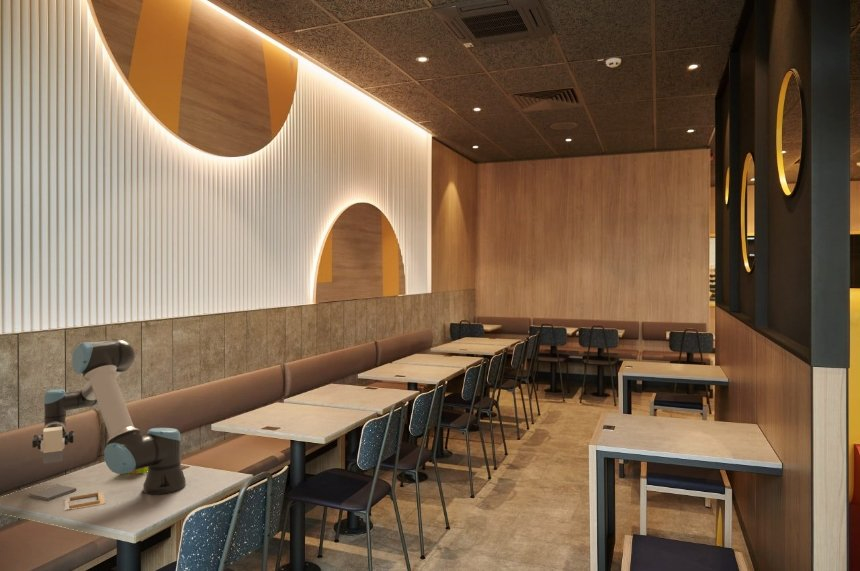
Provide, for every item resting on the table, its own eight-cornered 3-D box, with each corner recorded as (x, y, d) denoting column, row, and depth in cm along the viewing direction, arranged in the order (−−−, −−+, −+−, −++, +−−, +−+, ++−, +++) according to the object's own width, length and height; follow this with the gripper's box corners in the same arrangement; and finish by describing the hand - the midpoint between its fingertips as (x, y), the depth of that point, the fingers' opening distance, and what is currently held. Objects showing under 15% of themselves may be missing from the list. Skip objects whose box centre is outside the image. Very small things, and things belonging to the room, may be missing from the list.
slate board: (76, 490, 227) (76, 488, 227) (48, 500, 217) (48, 497, 217) (57, 486, 231) (57, 484, 231) (29, 496, 221) (28, 493, 221)
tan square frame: (103, 492, 224) (103, 490, 224) (104, 503, 213) (104, 500, 213) (64, 499, 218) (63, 496, 218) (63, 511, 207) (63, 508, 207)
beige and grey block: (62, 456, 228) (62, 426, 228) (62, 461, 223) (62, 429, 223) (44, 459, 225) (43, 428, 225) (43, 463, 220) (43, 431, 219)
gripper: (81, 438, 244) (82, 452, 224) (26, 445, 234) (21, 460, 214) (81, 420, 244) (82, 433, 224) (26, 426, 234) (21, 440, 214)
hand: (52, 446), depth 219 cm, fingers closed on beige and grey block, 6 cm apart
